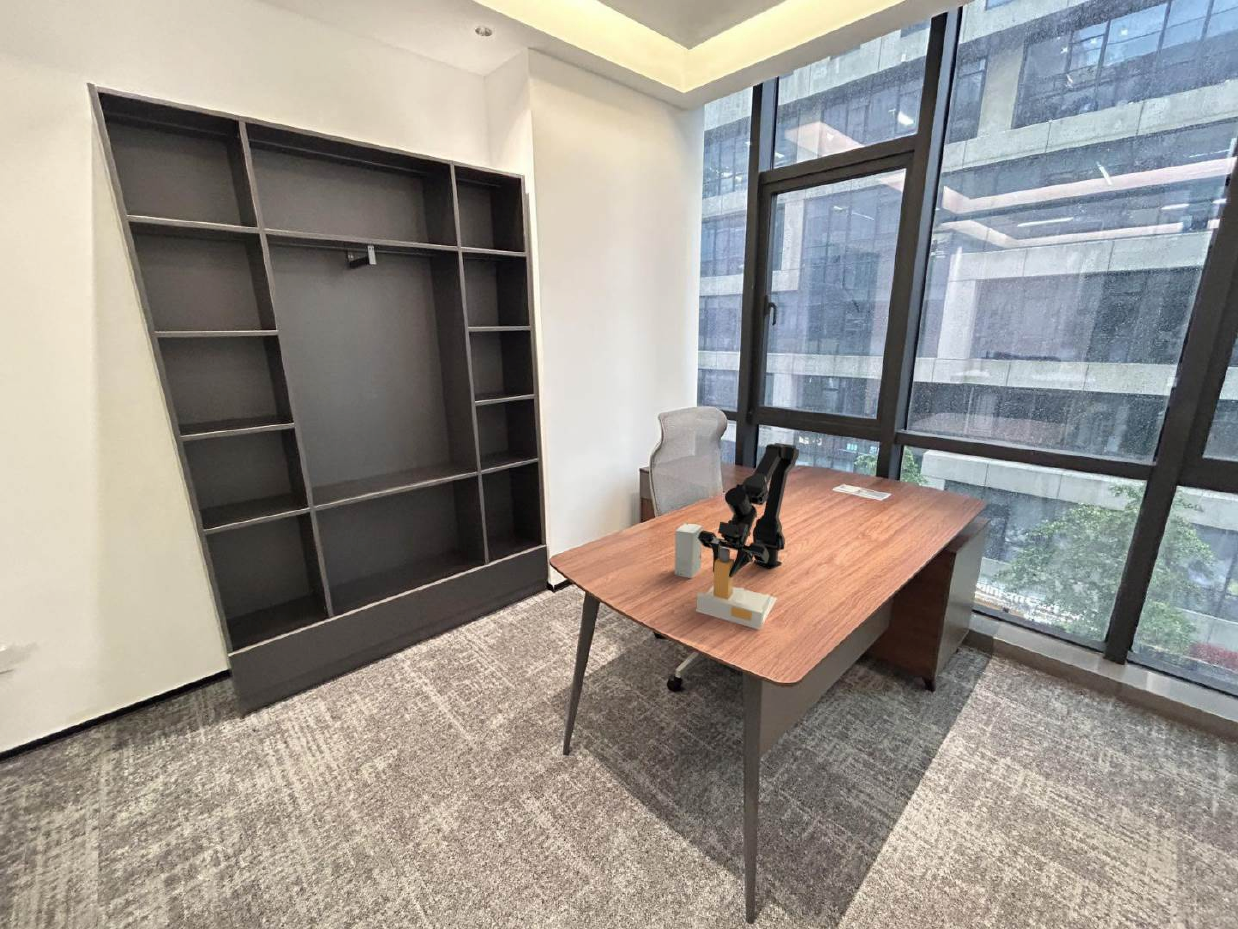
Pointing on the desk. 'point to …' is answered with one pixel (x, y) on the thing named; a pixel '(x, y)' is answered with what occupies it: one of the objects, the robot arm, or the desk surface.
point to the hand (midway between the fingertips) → (721, 574)
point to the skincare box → (687, 550)
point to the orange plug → (723, 575)
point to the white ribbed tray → (737, 606)
